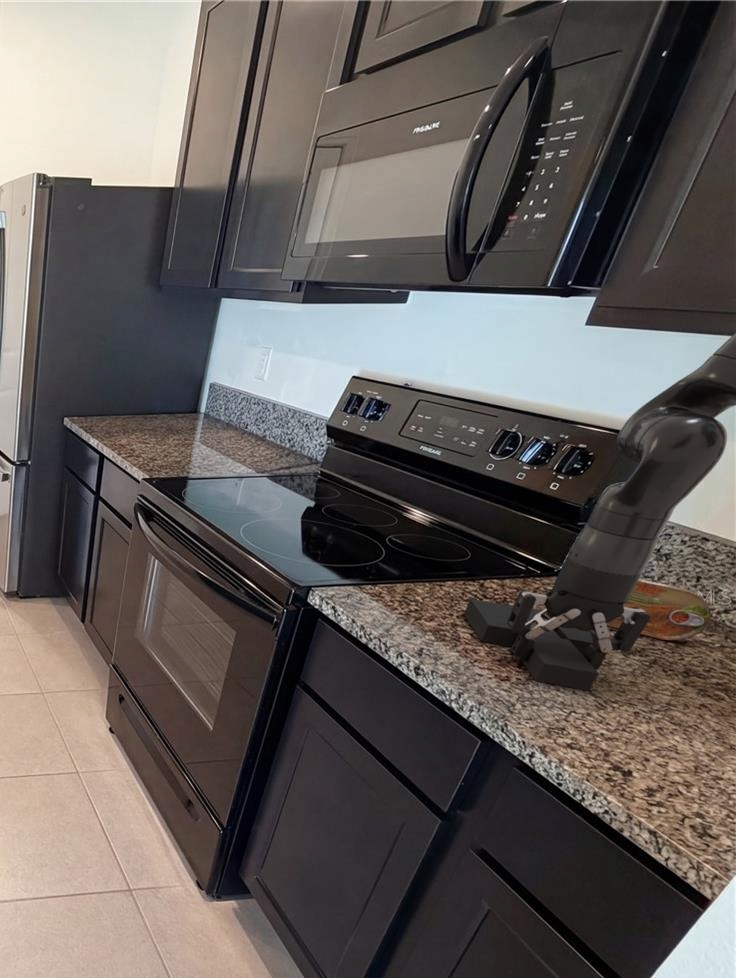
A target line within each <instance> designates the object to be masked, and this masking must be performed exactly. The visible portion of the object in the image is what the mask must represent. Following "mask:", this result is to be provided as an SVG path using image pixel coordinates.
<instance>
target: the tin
mask: <svg viewBox="0 0 736 978" xmlns="http://www.w3.org/2000/svg"><path fill="white" fill-rule="evenodd" d="M624 607H627V608H633V607H640V608H641V609H642V610H644V611H645V612H646V613H647V614H648V615H649V616H650V620H649V621H648V623H647V625H646V626H645V628H644V629H643V631H642V632H641V634H640V635H642V636H646V637H649V638H653V639H657V640H663V641H680V640H686V639H689V638H692V637H694V636H697V635H698V634H700V633H702V632H703V631H704V630H706V628H707V627H708V626H709V624H710V623H711V618H712V611H711V607H710V606H709V604H708V603H707V602H706V600H705V599H704V598H703V597H702V596H700V595H699V594H698V593H697V592H695V591H692V590H690V589H687V588H685V587H684V588H683V587H678V586H674V585H669V584H664V583H659V582H655V581H650V580H646V579H641V578H639V580H638V582H637V583H636V585H635V587H634V589H633V590H632V592H631V594H630V596H629V598H628V599H627V600H626V601H625V602H624ZM621 617H622V615H621V616H620V617H618V618H616V619H614V620H612V621H610V622H608V623H606V625H607V627H611V628H615V629H618V628H619V627H620V625H621V623H622V622H623V621H622V620H621Z"/></svg>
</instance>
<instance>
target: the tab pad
mask: <svg viewBox="0 0 736 978" xmlns="http://www.w3.org/2000/svg"><path fill="white" fill-rule="evenodd" d="M518 635H519V634H518ZM518 635H517V637H518ZM517 637H516V639H517ZM516 639H515V641H516ZM534 640H535V642H534V644H533V646H532V648H531V650H530V652H529V654H528V656H527V658H526V660H525V661H521V662H522V664H523V665H524V667H525V669H526V670H527V671H528V672H529V674H530V675H531V677H532V678H533V679H534V681H535V682H540V683H545V684H550V685H555V686H560V687H566V688H570V689H576V690H579V691H580V690H582V691H586V692H589V691H590V689H591V687H592V686H593V684H594V682H595V680H596V679H597V677H598V675H599V672H598V671H597V670H595V669H594V667H593V666H592V665H591V664H590V663H589V662H588V661H587V660H586V658H585V657H584V656H583V655H582V654H581V653H580V652H579V651H578V649H577V648H576V647H575V646H574V645H573V644H572V643H571V642H570V640H567V639H561V638H560V637H559V636H558V635H557V633H556V632H555V631H554V630H552V631H549V632H548V631H546V632H544V633H543V634H541V635H539V636H538V637H536V638H534ZM515 641H514V643H515Z"/></svg>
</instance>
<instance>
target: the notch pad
mask: <svg viewBox="0 0 736 978" xmlns="http://www.w3.org/2000/svg"><path fill="white" fill-rule="evenodd" d="M513 606H514V605H510V604H505V603H498V602H492V601H486V600H479V599H474V598H470V599H469V601H468V604H467V606H466V608H465V610H464V613H463V616H464V617H465V619H466V620H467V622H468V624H469V625H470V627H471V628H472V630H473V631H474V633H475V635H476V636H477V637H478V640H479V641H480V642H482V643H488V644H493V645H498V646H505V647H510V648H512V647H513V645H514V643H515V642H514V641H515V639H516V637H517V635H518V633H514V632H513V631H512V630H511V628H510V627H509V626H508V624H507V620H508V618H509V616H510V613H511V611H512V608H513ZM543 610H544V609H543ZM543 610H542V609H537V608H535V609H532V610H531V613H530V615H529V617H528V619H527V622H529V621H530V620H532V619H533V618H534V616H535V615H536V614H538V613H539V612H541V611H543ZM550 619H551V618H549V619H548V620H550ZM548 620H547V621H548ZM527 622H526V623H527ZM553 630H554V631H555V632H556V633H557V635H558V636H559V637H560V638H561V639H567V640H570V642H571V643H572V644H573V645H574V646H575V647H576V648H577V649H578V651H579V652H580V653H581V654H582V655H583V656H584V654H585V652H586V650H587V648H588V647H589V645H593V644H594V642H593V639H592V636H591V633H590V631H588V632H586V631H581V630H578V629H575V628H562V627H560V626H558V627H556V628H555V629H553Z"/></svg>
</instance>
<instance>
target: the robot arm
mask: <svg viewBox="0 0 736 978" xmlns="http://www.w3.org/2000/svg"><path fill="white" fill-rule="evenodd" d="M732 407H736V332H735V333H733V334H732V336H731V337H729V338H728V339H727V340H726V341H725V342H724V343H723V344H722V345H721V346H720V347H718V348H717V350H715V352H713V353H712V355H710V357H708V358H707V359H706V360H705V361H704V362H703V363H702V365H700V366H699V367H698V368H696V369H695V370H694V371H692V372H690V373H689V374H687V375H685V376H684V377H682V378H681V379H679V380H677V381H676V382H675V383H674V384H671V386H669V387H667V388H666V389H665V390H663V391H662V392H660V393H658V394H657V395H656V396H654V397H653V398H652V399H650V400H649V401H647V402H645V404H643V405H641V407H639V408H638V409H637V410H636V411H634V413H632V415H630V417H628V419H626V422H625V423H624V424H623V426H622V427H621V428H620V430H619V432H618V435H617V438H616V446H617V449H618V451H619V452H620V453H621V454H622V456H624V457H625V458H626V459H629V460H631V461H632V462H633V461H634V462H636V463H638V466H637V467H636V468H635V470H634V472H633V473H632V474H631V475H630V477H629V478H628V479H627V480H626V481H621V482H616V483H612V484H610V485H608V486H607V487H606V488H605V489H604V490H603V491H602V492H601V494H600V495H599V498H598V500H597V501H596V502H595V505H594V507H593V510H592V511H591V513H590V516H589V517H588V520H587V522H586V523H585V525H584V526H583V528H582V529H581V530H580V532H579V533H578V535H577V536H576V538H575V540H574V542H573V544H572V546H571V547H570V548H569V550H568V555H567V556H566V558H565V560H564V562H563V563H562V567H561V568H560V571H559V572H558V575H557V577H556V578H555V581H554V583H553V586H552V588H551V589H550V590H549V591H547V592H546V593H545V594H543V593H535V592H531V591H530V590H529V589H526V588H525V589H521V590H519V591H518V592H519V593H518V595H517V597H516V599H515V601H514V604H513V605H512V606H513V608H512V611H511V613H510V616H509V618H508V620H507V624H508V626H509V627H510V628H511V630H512V631H513V632H514V633H518V634H519V635H518V637H517V639H516V641H515V642H514V644H513V646H512V647H511V652H512V654H513V655H514V657H515V659H516V660H517V661H519V662H522V661H525V660H526V658H527V656H528V654H529V652H530V650H531V648H532V646H533V644H534V642H535V640H534V638H536V637H538V636H539V635H541V634H543V633H544V632H546V631H548V632H549V631H552V630H553V629H555V628H556V627H558V626H560V627H562V628H575V629H578V630H581V631H586V632H588V631H590V633H591V636H592V639H593V642H594V644H593V645H589V647H588V648H587V650H586V652H585V654H584V657H585V658H586V660H587V661H588V662H589V663H590V664H591V665H592V666H593V667H594V669H595V670H596V671H597V670H599V669H600V667H601V665H602V663H603V661H604V660H605V658H606V656H607V655H608V654H609V653H611V652H613V651H616V652H617V651H620V652H623V653H627V652H629V651H631V650H632V648H633V647H634V645H635V644H636V642H637V641H638V639H639V637H640V635H642V634H641V632H642V631H643V629H644V628H645V626H646V625H647V623H648V621H649V620H650V616H649V615H648V614H647V613H646V612H645V611H644V610H642V609H641V608H640V607H633V608H627V607H624V602H625V601H626V600H627V599H628V598H629V596H630V594H631V592H632V590H633V589H634V587H635V585H636V583H637V582H638V580H639V579H641V576H642V574H643V573H644V571H645V570H646V567H647V566H648V563H649V562H650V560H651V558H652V557H653V554H654V552H655V549H656V546H657V543H658V541H659V539H660V536H661V534H662V533H663V531H664V530H665V527H666V525H667V524H668V522H669V521H670V518H671V516H672V515H673V513H674V511H675V509H676V508H677V507H678V505H679V504H680V503H681V502H683V501H684V499H686V498H687V497H688V496H689V495H690V494H691V493H693V491H694V490H695V489H696V488H697V486H698V485H700V483H701V482H702V481H703V480H704V479H705V478H707V476H708V475H709V474H710V473H711V472H712V471H713V469H714V468H716V466H717V464H718V463H719V462H720V460H721V459H722V458H723V456H724V453H725V450H726V449H727V448H726V447H727V442H728V431H727V429H726V427H725V424H723V423H722V422H721V421H719V420H718V419H717V417H719V416H720V415H721V414H722V413H724V412H725V411H727V410H729V409H731V408H732ZM541 604H543V605H544V607H545V608H544V609H543V611H541V612H539V613H538V614H536V615H535V616H534V618H533V619H532V620H530V621H529V622H527V619H528V617H529V615H530V613H531V610H532V609H537V608H538V607H539V606H540V605H541ZM621 615H622V617H621V620H622V621H623V622H622V623H621V625H620V627H619V628H617V630H616V631H615V632H614V635H613V636H612V637H611V635H610V632H609V628H608V626H607V625H606V623H608V622H610V621H612V620H614V619H616V618H618V617H620V616H621ZM549 618H551V619H550V620H548V619H549ZM547 620H548V621H547ZM526 622H527V623H526Z"/></svg>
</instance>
